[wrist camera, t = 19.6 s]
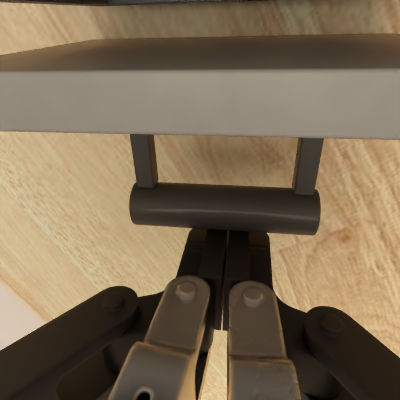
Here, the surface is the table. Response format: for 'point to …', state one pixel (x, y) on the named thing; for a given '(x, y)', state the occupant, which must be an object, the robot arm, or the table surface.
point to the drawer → (210, 109)
